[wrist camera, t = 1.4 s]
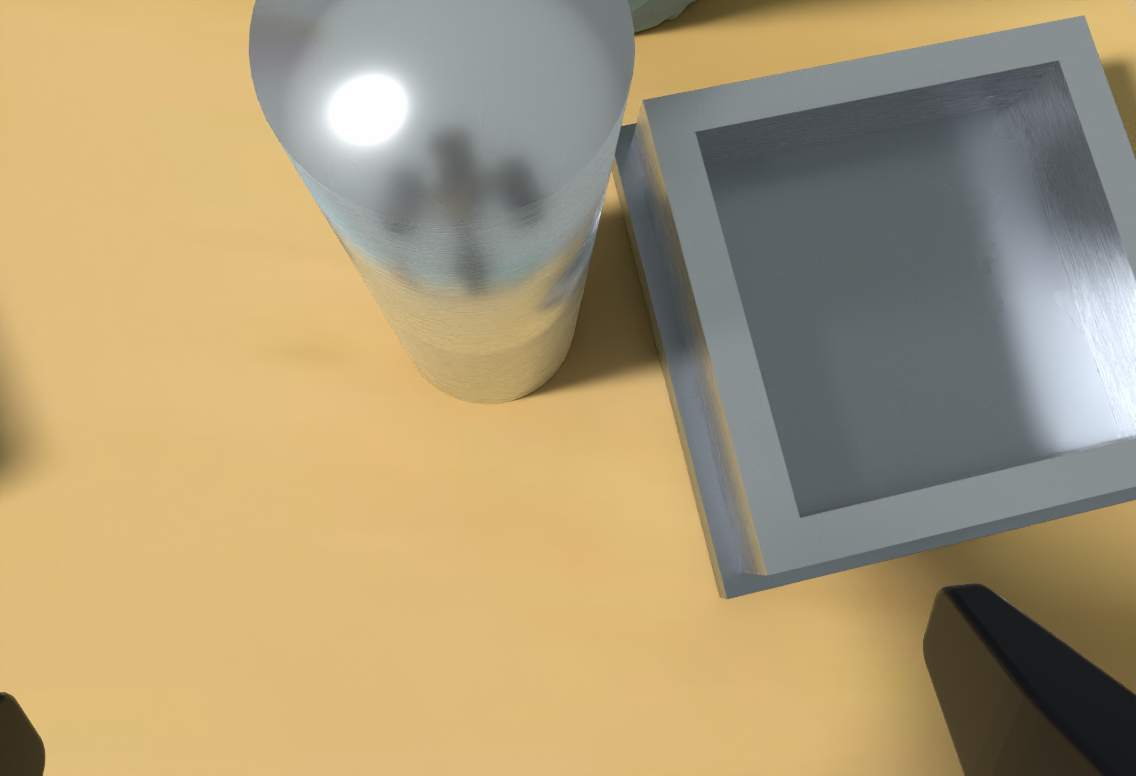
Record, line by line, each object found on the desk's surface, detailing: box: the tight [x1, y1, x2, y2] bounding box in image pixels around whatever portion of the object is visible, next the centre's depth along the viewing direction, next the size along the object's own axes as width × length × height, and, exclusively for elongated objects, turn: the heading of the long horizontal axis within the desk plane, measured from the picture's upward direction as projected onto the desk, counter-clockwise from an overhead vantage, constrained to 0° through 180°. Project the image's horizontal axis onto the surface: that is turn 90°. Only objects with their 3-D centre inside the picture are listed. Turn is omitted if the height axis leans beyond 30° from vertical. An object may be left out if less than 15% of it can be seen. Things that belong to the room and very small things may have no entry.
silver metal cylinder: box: [249, 0, 635, 404], centre depth 16 cm, size 4×4×12 cm
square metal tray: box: [612, 16, 1136, 599], centre depth 22 cm, size 12×12×3 cm
